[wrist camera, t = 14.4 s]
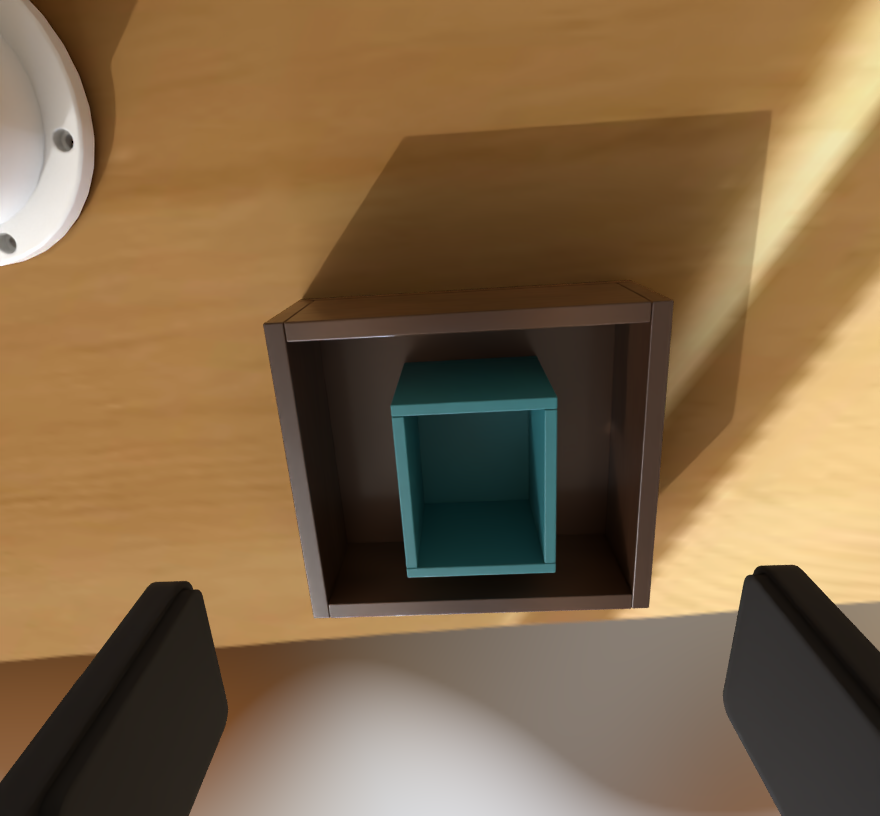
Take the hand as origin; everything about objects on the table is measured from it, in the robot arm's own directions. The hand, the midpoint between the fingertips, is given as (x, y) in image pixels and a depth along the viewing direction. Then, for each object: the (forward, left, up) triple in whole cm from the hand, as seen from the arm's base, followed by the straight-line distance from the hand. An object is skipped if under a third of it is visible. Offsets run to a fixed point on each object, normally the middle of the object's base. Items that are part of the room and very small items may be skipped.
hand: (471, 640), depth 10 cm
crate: (+1, -4, -19) cm, 20 cm away
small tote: (+1, -4, -19) cm, 19 cm away
